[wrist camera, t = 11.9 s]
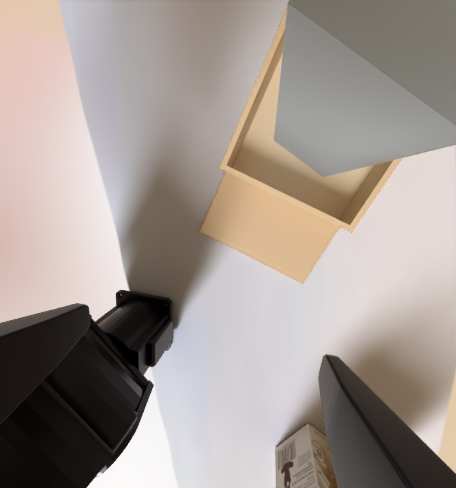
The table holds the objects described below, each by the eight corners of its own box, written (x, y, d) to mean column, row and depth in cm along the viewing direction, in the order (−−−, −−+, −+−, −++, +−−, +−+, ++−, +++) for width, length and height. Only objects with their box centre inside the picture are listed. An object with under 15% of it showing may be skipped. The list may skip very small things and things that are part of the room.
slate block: (273, 140, 17) (288, 2, 5) (307, 91, 16) (451, -278, 3) (323, 177, 17) (474, 140, 5) (361, 131, 16) (707, -93, 3)
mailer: (201, 230, 20) (190, 237, 18) (288, 30, 15) (292, -6, 13) (302, 282, 20) (307, 297, 17) (426, 91, 15) (464, 67, 12)
